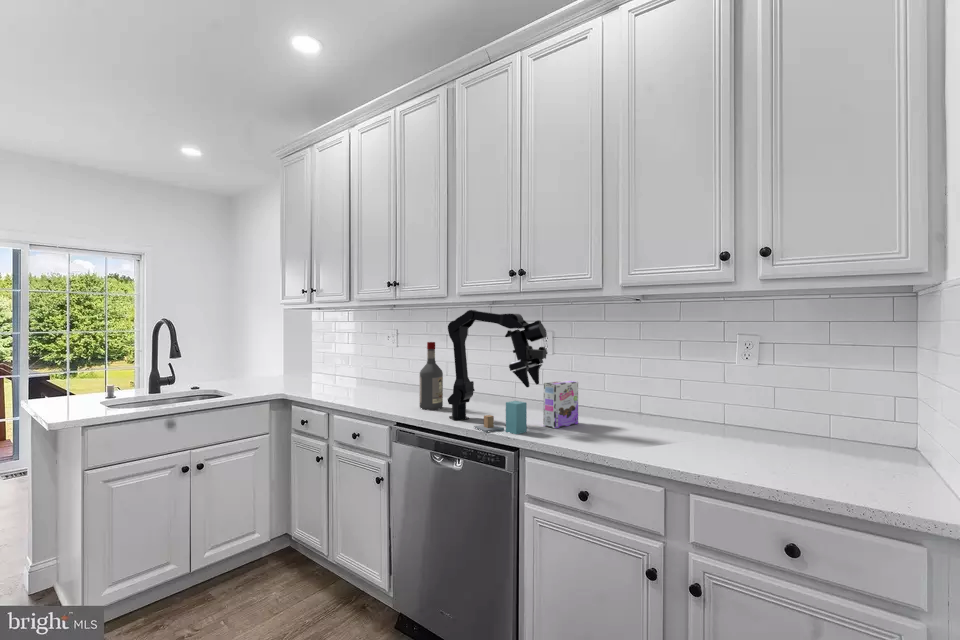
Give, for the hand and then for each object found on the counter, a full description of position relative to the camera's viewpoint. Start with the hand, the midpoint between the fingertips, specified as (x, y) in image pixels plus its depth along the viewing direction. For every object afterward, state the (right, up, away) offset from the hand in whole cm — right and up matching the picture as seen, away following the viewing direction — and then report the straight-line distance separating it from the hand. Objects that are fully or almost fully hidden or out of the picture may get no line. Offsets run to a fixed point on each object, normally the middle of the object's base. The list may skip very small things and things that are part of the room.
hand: (533, 385), depth 175 cm
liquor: (-42, -16, +39) cm, 59 cm away
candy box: (+11, -16, +4) cm, 20 cm away
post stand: (-17, -15, -3) cm, 23 cm away
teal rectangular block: (-7, -15, -8) cm, 19 cm away
